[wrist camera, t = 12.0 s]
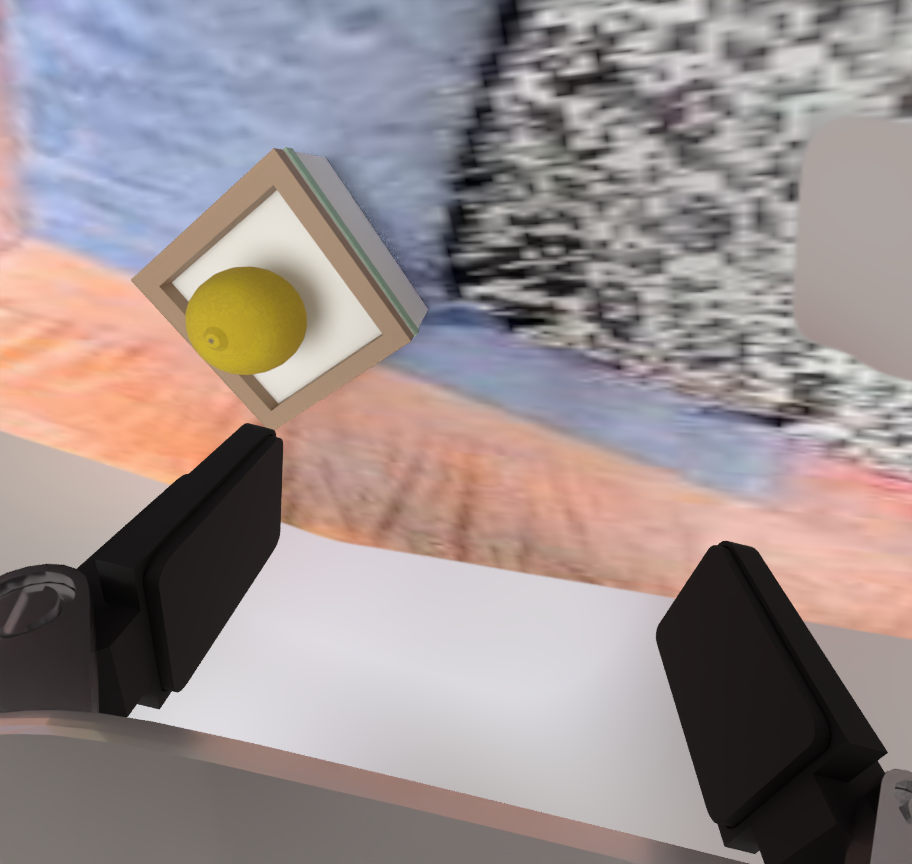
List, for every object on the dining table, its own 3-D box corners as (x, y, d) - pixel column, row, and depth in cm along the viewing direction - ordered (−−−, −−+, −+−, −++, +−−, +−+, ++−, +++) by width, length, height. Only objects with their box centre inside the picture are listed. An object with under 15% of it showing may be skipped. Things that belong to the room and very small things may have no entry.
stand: (430, 310, 35) (413, 341, 28) (312, 388, 39) (270, 434, 32) (325, 154, 31) (273, 144, 24) (204, 260, 35) (128, 279, 28)
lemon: (296, 243, 27) (226, 260, 20) (340, 331, 29) (291, 375, 22) (218, 278, 28) (127, 306, 21) (267, 360, 31) (198, 410, 23)
